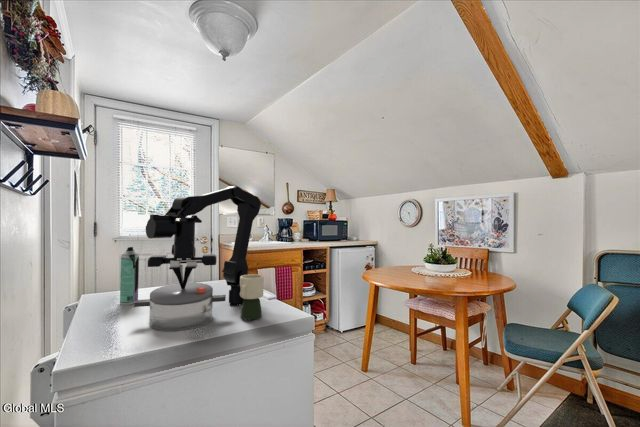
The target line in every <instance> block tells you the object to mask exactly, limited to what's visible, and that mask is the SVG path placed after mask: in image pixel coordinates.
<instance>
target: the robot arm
mask: <svg viewBox="0 0 640 427" xmlns="http://www.w3.org/2000/svg"><path fill="white" fill-rule="evenodd" d="M228 200H231V202H232V203H233V204H234V205H236V206H237V209H236V211H237V214H238V217H239V219H238V223H237V229H236V235H235V239H234V246H233V249H232V255H231V257H230V259H229V260H225V261H224V263H223V269H222V271H221V272H222V277H223V278H224V280H225V281H226V285H227V286H229V287H230V289H229V290H228V303H229V305H230V306H231V307H232V306H242V304H243V301H244V298H242V297H241V296H240V291H241V288H240V276H242V275H248V274H249V264H248V262H247V254H248V248H249V243H250V238H251V232H252V229H253V228H252V227H253V222H254V221H255V219H256V218H257V216H258V214H259V212H260V209H261V207H262V201H261V200H260V198H259V196H257V195H253V194H252V193H250V192H248V191H246V190H244V189H242V188H241V187H239V186H238V185H235V186H231V185H230V186H227V187H226V188H222V189H218V190H215V191H211V192H207V193H204V194H201V195H191V196H179V197H176V198H174V200H173V201H172V205H171V207H170V208H169V209H168V210H167V212H166V213H165V214H164V215H160V214H150V215H149V219H148V220H147V223H146V226H145V234H146V237H147V238H148V239H151V240H152V239H153V240H154V239H171V238H172V237H173V238H174V239H173V240H174V241H173V243H172V245H171V255H172V256H173V257H167V255H165V254H163V255H162V254H161V255H160V254H158V255H156V254H155V255H152V256H150V257H149V258H147V268H158V267H161V266H162V265H166V264H167V265H169V268H168V269H169V270H173V273H174V274H175V276H176V278H177V281H178V283H180V286H181V289H185V287H186V284H187V281H189V278H190V275H191V273H192V271H193V270H194V269H196V268H198V264H203V265H204V266H216V265H217V255H216V254H210V253H209V254H203V255H202V256H196V251H197V250H196V246H195V244H196V242H195V240H196V239H195V238H196V237H195V236H196V223H202V222H203V221H202V219H200V218H199V217H198V216H197V214H198V213H200V212H201V211H204V210H205V208H207V207H209V206H212V205H216V204H218V203H222V202H224V201H228ZM189 216H190V217H189ZM177 219H179V220H177ZM183 264H186V266H185V268H184V267H183V266H184V265H183ZM183 269H184V273H183Z"/></svg>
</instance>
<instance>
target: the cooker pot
mask: <svg viewBox="0 0 640 427" xmlns="http://www.w3.org/2000/svg"><path fill="white" fill-rule="evenodd" d="M226 298H227V297H226V294H219V295H213V294H212V295H211V296H210V297H209V298H207V299H204V300H202V301H199V302H195V303H190V304H183V305H161V304H156V303H153V302H152V301H151V300H150V298H148V299H138V300H137V301H136V302H135V303H134V304H133V305H134V306H133V307H134V308H139V307H140V308H141V307H149V318H148V319H149V323H148V324H149V325H148V326H149V328H150V329H152V330H153V331H158V332H159V331H160V332H180V331H187V330H192V329H196V328H199V327H202V326H204V325H206V324H207V325H208V324H209V323H210V322H211V321H212V319H213V303H217V302H218V303H219V302H226Z"/></svg>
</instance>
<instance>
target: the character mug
mask: <svg viewBox="0 0 640 427" xmlns="http://www.w3.org/2000/svg"><path fill="white" fill-rule="evenodd" d="M264 281H265V280H264V275H262V274H255V273H251V274H250V273H248V275H242V276H240V288H241V291H240V296H241V297H242V298H244V301H243V304H242V305H241V312H240V319H242V320H248V321H249V320H257V319H260V318H262V315H263V314H262V306H261V305H262V304H261V300H260V298H262V297H263V296H264Z"/></svg>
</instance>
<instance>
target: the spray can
mask: <svg viewBox="0 0 640 427" xmlns="http://www.w3.org/2000/svg"><path fill="white" fill-rule="evenodd" d="M139 267H140V255H139V253H138V252H137V251H135V249H134V247H133V246H128V247H127V248H126V250H125V252H123V253H121V256H120V279H119V280H120V283H119V284H120V288H119V290H120V291H119V305H121V306H130V305H134V303H135V302H136V301H137V300H139V273H140V270H139V269H140V268H139Z"/></svg>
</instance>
